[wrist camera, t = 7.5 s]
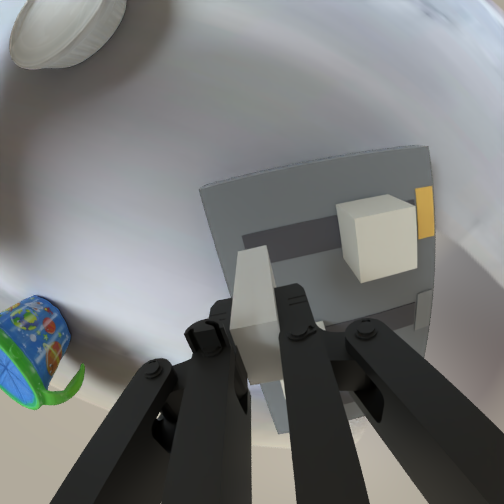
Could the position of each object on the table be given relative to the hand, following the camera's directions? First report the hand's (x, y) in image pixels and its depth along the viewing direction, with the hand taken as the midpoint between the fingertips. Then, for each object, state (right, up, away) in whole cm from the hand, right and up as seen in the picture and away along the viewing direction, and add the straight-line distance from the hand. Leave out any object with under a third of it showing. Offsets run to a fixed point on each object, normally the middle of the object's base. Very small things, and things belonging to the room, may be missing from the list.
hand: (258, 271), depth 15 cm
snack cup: (-24, -7, +11) cm, 28 cm away
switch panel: (+8, -5, +10) cm, 13 cm away
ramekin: (-16, +22, 0) cm, 27 cm away
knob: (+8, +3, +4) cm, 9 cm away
